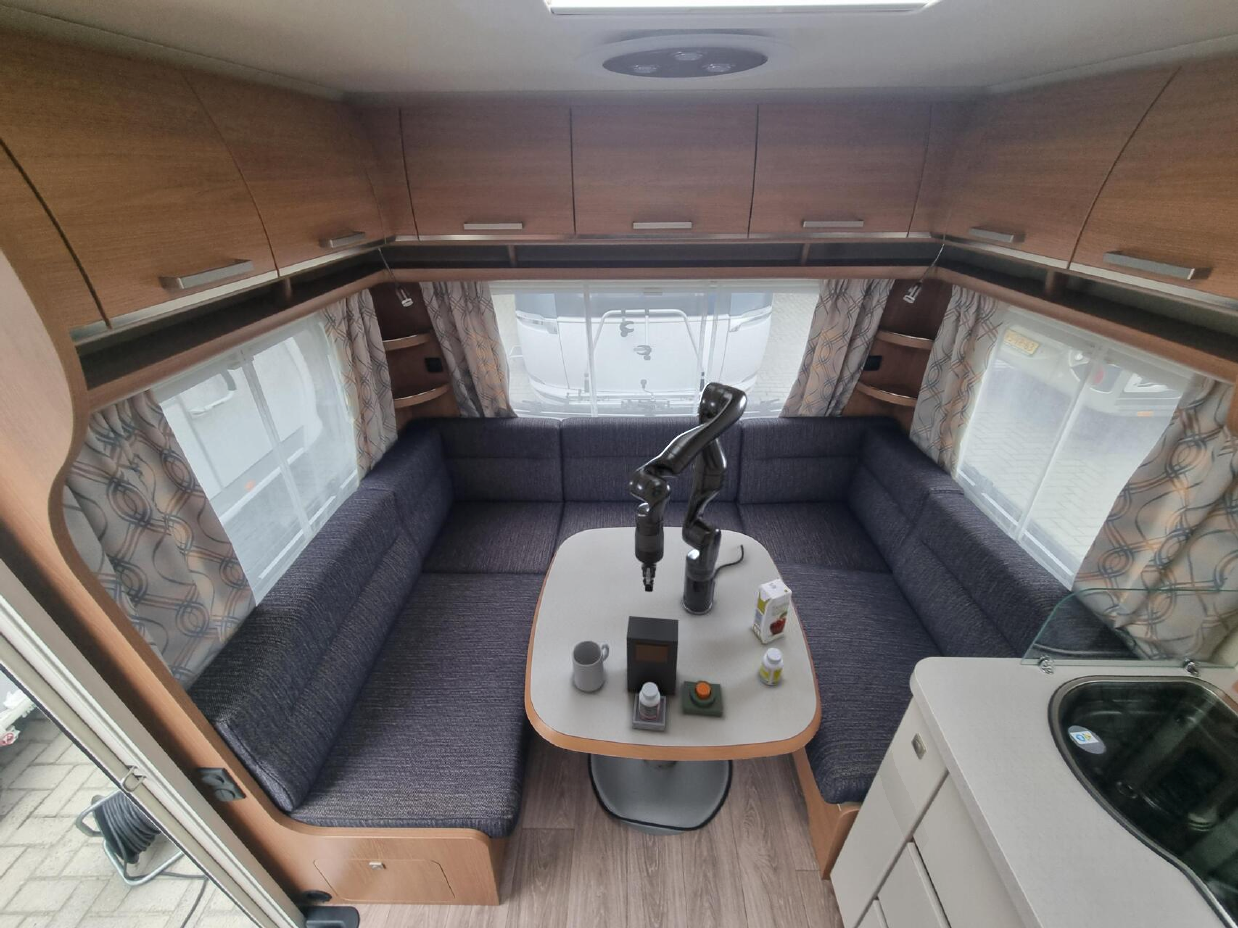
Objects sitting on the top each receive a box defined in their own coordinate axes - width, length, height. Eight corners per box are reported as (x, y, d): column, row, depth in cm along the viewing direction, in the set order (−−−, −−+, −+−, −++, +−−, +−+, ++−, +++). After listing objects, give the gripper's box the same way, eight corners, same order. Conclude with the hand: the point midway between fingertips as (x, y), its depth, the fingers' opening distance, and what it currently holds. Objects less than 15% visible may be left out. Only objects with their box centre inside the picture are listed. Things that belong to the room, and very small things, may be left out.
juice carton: (747, 628, 152) (755, 583, 142) (770, 619, 155) (779, 575, 145) (763, 646, 146) (772, 601, 136) (786, 637, 149) (796, 592, 139)
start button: (695, 685, 131) (696, 681, 130) (709, 686, 131) (709, 682, 130) (696, 697, 128) (696, 693, 127) (710, 699, 128) (710, 695, 127)
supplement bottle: (780, 671, 139) (785, 648, 134) (779, 688, 134) (784, 665, 129) (760, 666, 140) (765, 643, 135) (758, 682, 136) (763, 659, 131)
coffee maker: (629, 669, 140) (629, 615, 129) (675, 673, 139) (678, 619, 128) (623, 726, 126) (621, 672, 114) (674, 732, 124) (677, 677, 113)
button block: (683, 685, 135) (684, 676, 133) (719, 689, 134) (721, 679, 132) (683, 712, 129) (683, 703, 127) (721, 716, 127) (723, 707, 125)
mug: (588, 698, 133) (585, 672, 127) (567, 678, 138) (564, 653, 132) (619, 670, 140) (618, 644, 134) (598, 652, 145) (597, 627, 140)
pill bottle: (662, 719, 126) (663, 696, 121) (642, 724, 125) (642, 700, 120) (656, 700, 131) (657, 677, 126) (636, 705, 130) (636, 681, 125)
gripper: (636, 524, 131) (637, 572, 140) (632, 557, 120) (633, 607, 129) (664, 525, 131) (663, 573, 139) (663, 559, 119) (661, 609, 128)
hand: (648, 589), depth 134 cm, fingers closed
